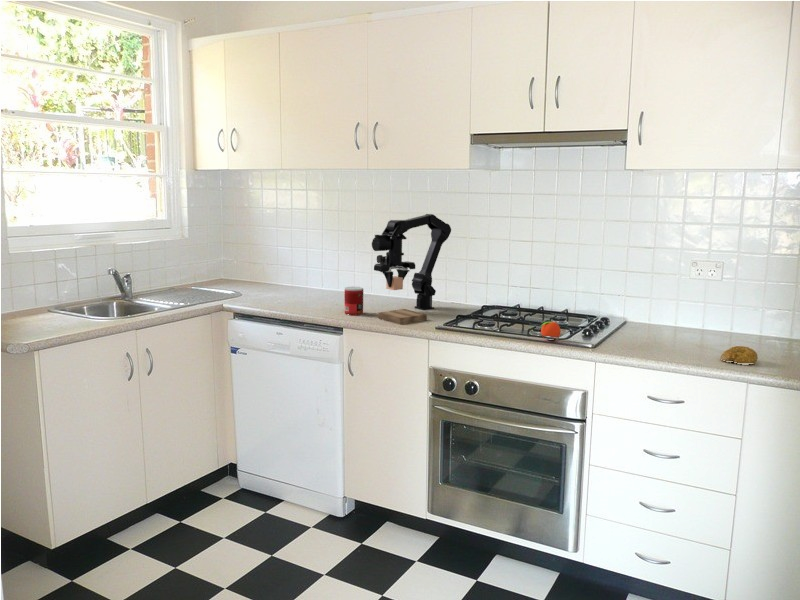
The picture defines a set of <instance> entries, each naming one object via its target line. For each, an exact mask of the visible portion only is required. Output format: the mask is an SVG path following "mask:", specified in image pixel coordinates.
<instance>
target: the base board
mask: <svg viewBox="0 0 800 600" xmlns="http://www.w3.org/2000/svg"><path fill="white" fill-rule="evenodd" d="M377 313H378V315H377V316H378V317H377V318H379V320H382V319H383V321H385V320H386V322H389V321H390V323H394V324H398V325H405V323H406V324H411V323H412V322H413V323H417V322H418V321H419V322H424V320H425V321H427V319H428V318H427V316H428V314H427V313H424V312H419V311H414V310H410V309H406V308H400V309H395V310H387V311H381V312H377Z"/></svg>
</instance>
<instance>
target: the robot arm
mask: <svg viewBox="0 0 800 600" xmlns="http://www.w3.org/2000/svg"><path fill="white" fill-rule="evenodd" d="M426 225H427V227H428V229H430V230H431V232H430V237H431V241H430V244H429V246H428V250H427V252H426V255H425V259H424V261H423V263H422V266H421V269H420V271H419V272H414V273H413V277H412V279H411V286H412V289H413V291H414V294H416V305H415V306H414V308H415V309H419V310H424V311H425V310H431V309H435V306H433V296H435V295H436V292H437V290H436V289H435V288H434V287H433V285H432V284H433V277H432V275H433V270H434V268H435V266H436V262H437V259H438V258H439V257H438V256H439V254H440V251H441V249H442V246H443V244H444V243H445V242H446V241H447V240H448V239H449V237H450V235H451V233H452V228H451V225H450V224H449V223H448V222H447V223H446V222H445V221H443V219H441V218H438V217H437V216H436V215H435V214H432V213H426V214H423V215H419V216H416V217H412V218H408V219H390V220H389V221H388V222H387V224H386V227H385V228H384V229H383V230H382V231H383V232H382V233H381V234H374V237H373V239H372V241H371V247H372V250H373V251H374V252H385V251H386V254H385V256H384V255H383V254H379V255H377V256H376V263H375V264H374V266H373V271H376V272H380V273H382V274H383V275H384V277H385V279H386V280H387V283H388V286H389V287H391V285H392V278H393V276H394V271H392V270H396V272H397V277H402V278H403V281H405V278H406V276H407V274H408V273H409V272H411V270H415V269H416V264H415V262H414V261H403V256H404V255H405V252H403V240H407V239H408V238H407V236H405V234H404V233H407V232H408V231H409V230H410V229H414V228H418V227H423V226H426Z"/></svg>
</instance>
